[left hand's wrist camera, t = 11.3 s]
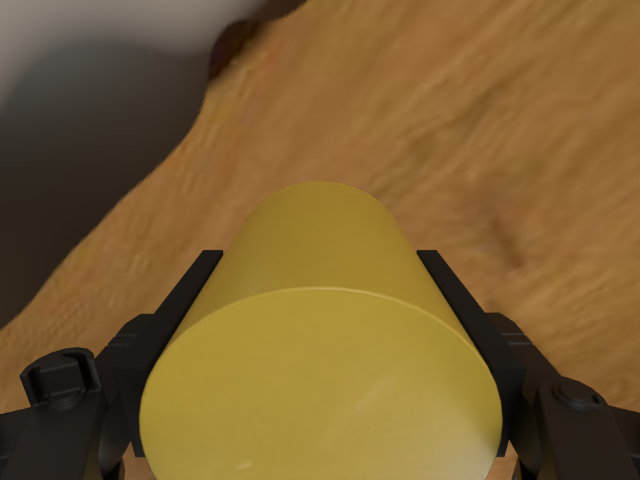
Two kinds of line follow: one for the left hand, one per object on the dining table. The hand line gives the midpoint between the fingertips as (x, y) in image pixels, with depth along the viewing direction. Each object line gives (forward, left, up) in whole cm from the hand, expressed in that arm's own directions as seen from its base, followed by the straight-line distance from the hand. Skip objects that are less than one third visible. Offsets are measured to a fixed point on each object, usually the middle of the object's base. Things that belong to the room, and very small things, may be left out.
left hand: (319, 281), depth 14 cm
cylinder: (0, 0, -1) cm, 1 cm away
